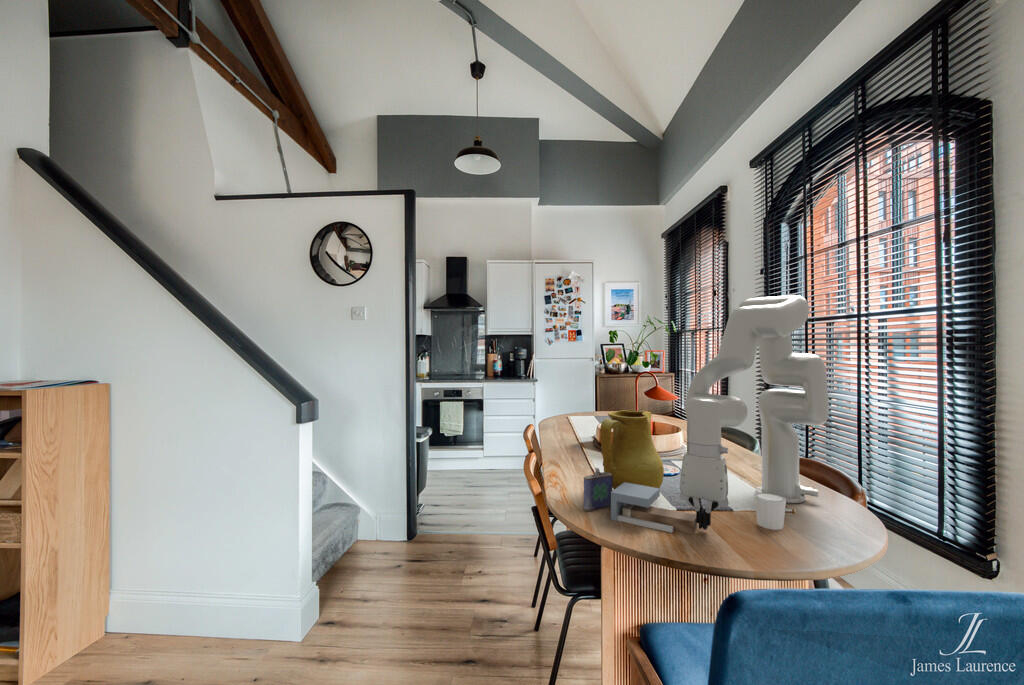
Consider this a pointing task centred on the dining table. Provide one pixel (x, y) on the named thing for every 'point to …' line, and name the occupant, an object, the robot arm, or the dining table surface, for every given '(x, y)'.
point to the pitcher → (630, 449)
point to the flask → (597, 491)
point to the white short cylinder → (770, 510)
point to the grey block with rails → (636, 497)
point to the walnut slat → (663, 517)
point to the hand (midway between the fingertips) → (703, 527)
